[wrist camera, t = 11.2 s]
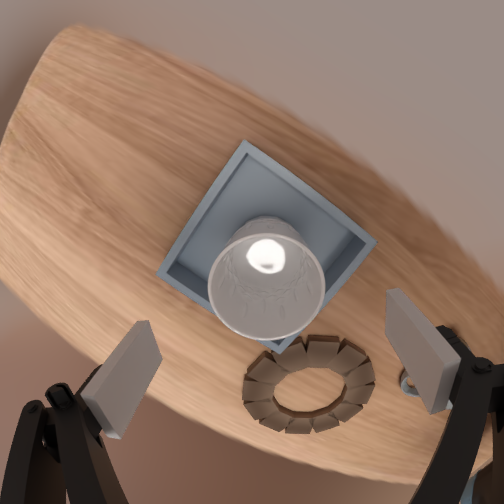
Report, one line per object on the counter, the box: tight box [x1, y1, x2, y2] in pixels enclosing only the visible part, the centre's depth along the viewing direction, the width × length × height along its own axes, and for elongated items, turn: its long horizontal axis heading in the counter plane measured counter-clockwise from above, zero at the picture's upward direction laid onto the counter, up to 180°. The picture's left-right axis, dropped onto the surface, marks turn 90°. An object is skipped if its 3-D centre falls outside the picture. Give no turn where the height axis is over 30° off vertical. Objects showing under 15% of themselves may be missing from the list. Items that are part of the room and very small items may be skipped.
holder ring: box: [242, 335, 376, 434], centre depth 34 cm, size 17×17×1 cm
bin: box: [155, 140, 378, 354], centre depth 28 cm, size 15×15×4 cm
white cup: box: [208, 216, 325, 341], centre depth 24 cm, size 8×8×10 cm
